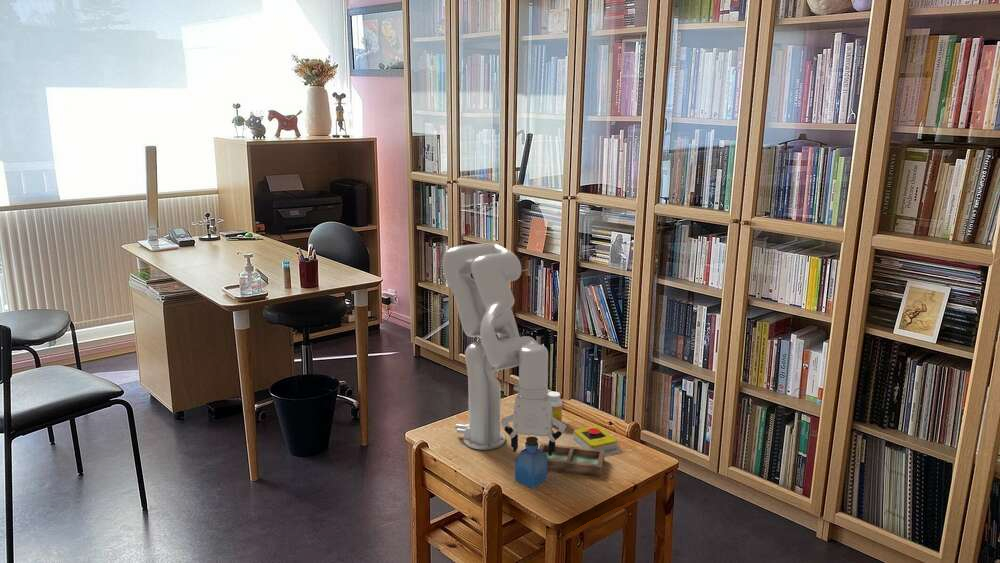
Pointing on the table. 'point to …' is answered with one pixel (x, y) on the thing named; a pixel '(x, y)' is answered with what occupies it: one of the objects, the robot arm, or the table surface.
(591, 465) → the organizer
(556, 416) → the supplement bottle
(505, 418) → the robot arm
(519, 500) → the table surface
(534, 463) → the perfume bottle
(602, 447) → the emergency button
